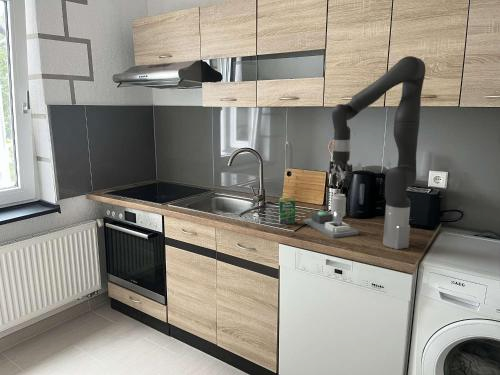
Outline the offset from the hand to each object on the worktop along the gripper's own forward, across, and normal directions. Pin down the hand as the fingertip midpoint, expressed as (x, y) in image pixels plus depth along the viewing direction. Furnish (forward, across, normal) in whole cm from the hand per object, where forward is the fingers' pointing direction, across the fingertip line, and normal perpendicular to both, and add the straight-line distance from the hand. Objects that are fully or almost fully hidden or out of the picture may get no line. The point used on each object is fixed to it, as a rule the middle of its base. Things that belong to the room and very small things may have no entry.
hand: (339, 185), depth 167 cm
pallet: (+22, +6, 0) cm, 23 cm away
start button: (+19, +13, 0) cm, 23 cm away
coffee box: (+22, +20, +16) cm, 34 cm away
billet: (+20, 0, 0) cm, 20 cm away
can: (+22, +22, -16) cm, 35 cm away
